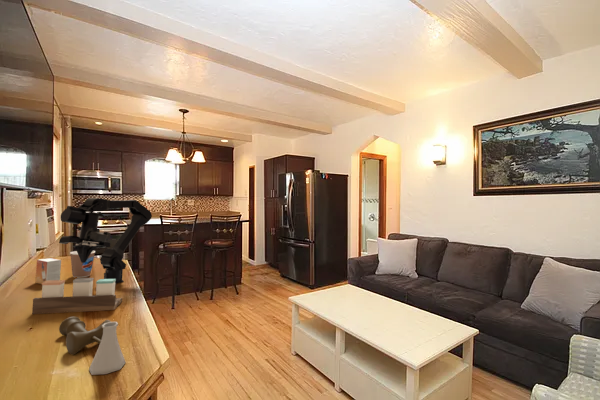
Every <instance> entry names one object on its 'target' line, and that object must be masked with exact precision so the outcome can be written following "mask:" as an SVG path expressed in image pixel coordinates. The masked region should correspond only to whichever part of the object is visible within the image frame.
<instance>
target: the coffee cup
mask: <svg viewBox="0 0 600 400" xmlns="http://www.w3.org/2000/svg"><path fill="white" fill-rule="evenodd" d="M95 253H96V250H93V251H92V252H91V254H90V255H89V257H88V259H87V260H86V262H85V263H81V260H80V258H79V255H78V253H77V251H76V250H74V251H70V252H69V254H70V263H71V265H70V266H71V274H72V277H73V278H75V277H77V278H88V277H90V276H91V273H92V269H93V264H94V258H95ZM77 278H76V279H77Z"/></svg>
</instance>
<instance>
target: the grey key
mask: <svg viewBox="0 0 600 400" xmlns="http://www.w3.org/2000/svg"><path fill="white" fill-rule="evenodd" d="M94 279H95V278H94V277H81V278H75V279H73V280H72V283H73V285H72V296H93V290H94V289H93V287H94Z"/></svg>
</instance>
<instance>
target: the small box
mask: <svg viewBox="0 0 600 400" xmlns="http://www.w3.org/2000/svg"><path fill="white" fill-rule="evenodd" d="M61 269H62V259H56V258H52V257H51V258H50V257H48V258H41V259H37V260H36V269H35V271H36V272H35V282H34V283H35V284H39V285H42V283H43V282H45V281H48V280H61Z"/></svg>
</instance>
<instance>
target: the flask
mask: <svg viewBox="0 0 600 400" xmlns="http://www.w3.org/2000/svg"><path fill="white" fill-rule="evenodd" d="M118 326H119V323H118V321H111V322H108V323H105V324H103V325H102V328H103V336H102V340H101V343H100V344H99V345H98V348H97V350H96V352H95V355H94V357H93V359H92V362H91V363H90V366H89V372H90V374H91V376H92V375H93V376H94V375H107V374H110V373H113V372H116V371H119V370H121V369H122V367H123V366H124V365H125V364H126V359H125V356H124V354H123V352H122V349H121V346H120V344H119V340H118V336H117V328H118Z"/></svg>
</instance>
